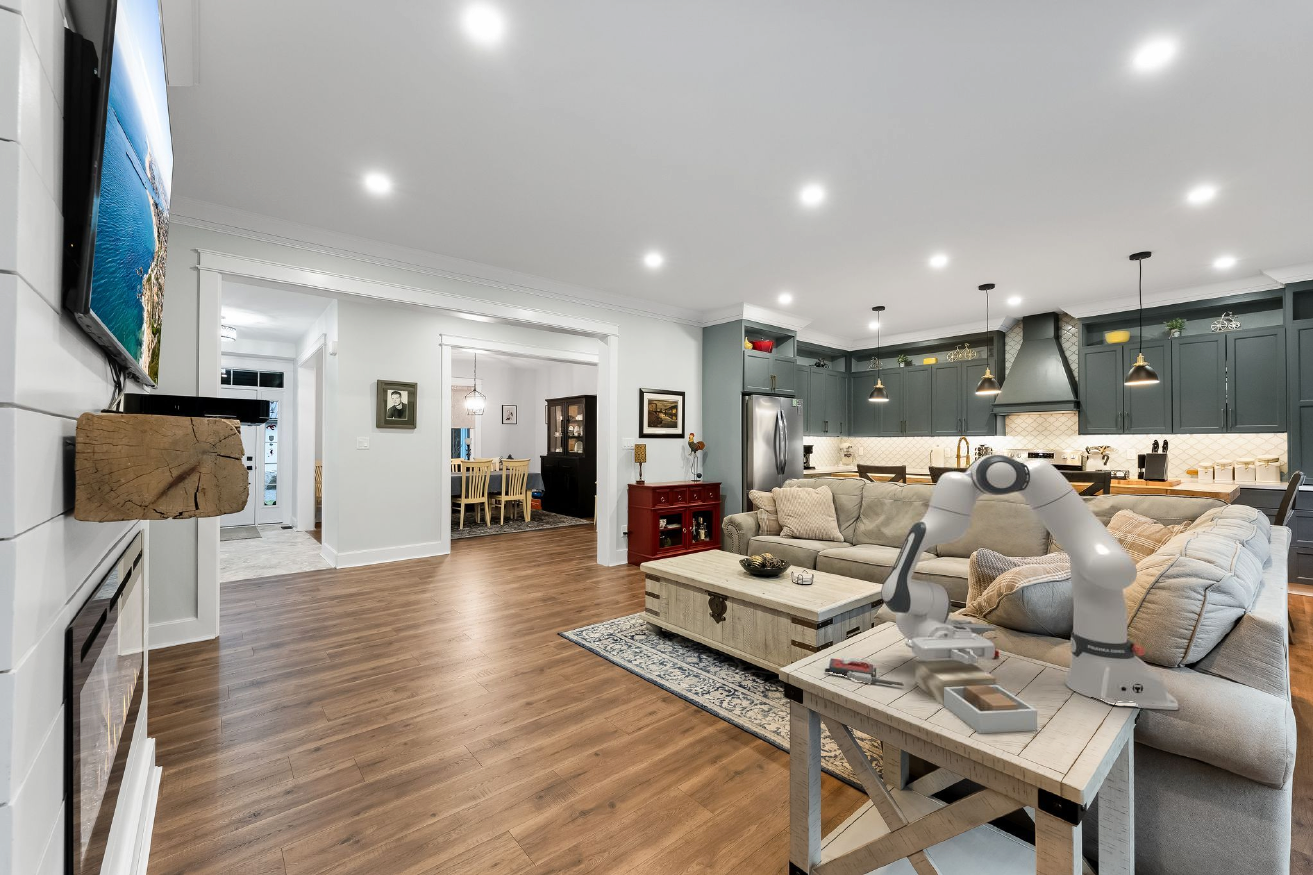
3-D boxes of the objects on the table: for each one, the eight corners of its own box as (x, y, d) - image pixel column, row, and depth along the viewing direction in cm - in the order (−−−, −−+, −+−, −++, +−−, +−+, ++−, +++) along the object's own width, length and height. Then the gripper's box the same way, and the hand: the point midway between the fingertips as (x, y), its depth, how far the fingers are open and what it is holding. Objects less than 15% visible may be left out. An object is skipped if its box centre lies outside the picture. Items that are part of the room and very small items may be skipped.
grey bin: (943, 705, 140) (943, 687, 140) (996, 702, 141) (996, 684, 141) (979, 733, 127) (979, 713, 127) (1037, 730, 128) (1037, 710, 128)
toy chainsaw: (823, 678, 156) (903, 691, 148) (823, 662, 155) (903, 674, 148) (827, 666, 164) (903, 678, 156) (827, 651, 164) (903, 662, 156)
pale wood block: (915, 683, 152) (915, 661, 152) (964, 681, 154) (964, 659, 154) (942, 704, 140) (943, 680, 140) (995, 702, 142) (996, 678, 142)
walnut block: (964, 685, 138) (993, 705, 128) (987, 684, 139) (1017, 704, 129) (964, 706, 138) (993, 727, 128) (987, 705, 139) (1017, 726, 129)
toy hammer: (945, 646, 169) (906, 614, 199) (944, 659, 170) (906, 625, 199) (1028, 649, 168) (977, 616, 198) (1028, 661, 168) (977, 626, 198)
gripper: (901, 629, 153) (932, 649, 139) (973, 627, 155) (1010, 646, 141) (901, 653, 153) (932, 675, 139) (973, 650, 155) (1010, 671, 141)
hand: (972, 660), depth 140 cm, fingers closed
